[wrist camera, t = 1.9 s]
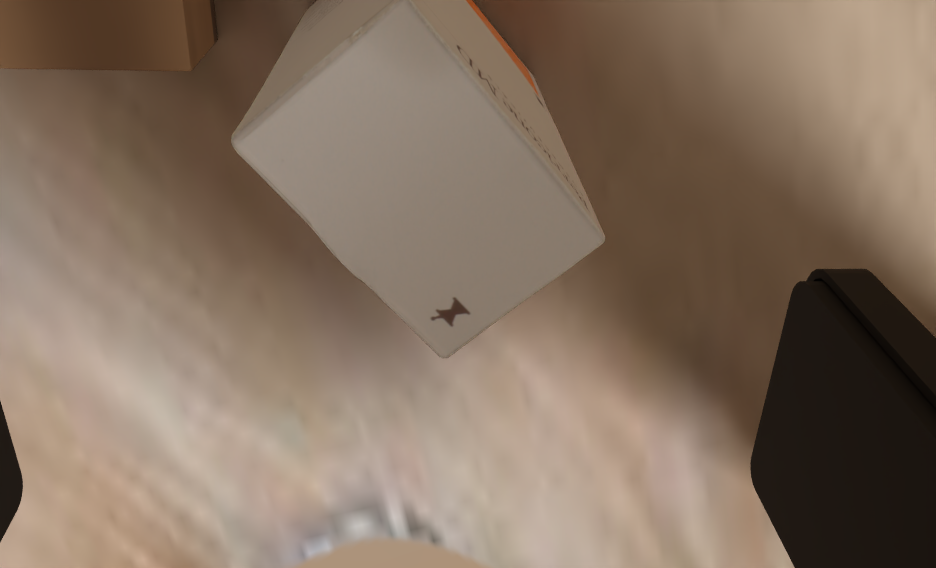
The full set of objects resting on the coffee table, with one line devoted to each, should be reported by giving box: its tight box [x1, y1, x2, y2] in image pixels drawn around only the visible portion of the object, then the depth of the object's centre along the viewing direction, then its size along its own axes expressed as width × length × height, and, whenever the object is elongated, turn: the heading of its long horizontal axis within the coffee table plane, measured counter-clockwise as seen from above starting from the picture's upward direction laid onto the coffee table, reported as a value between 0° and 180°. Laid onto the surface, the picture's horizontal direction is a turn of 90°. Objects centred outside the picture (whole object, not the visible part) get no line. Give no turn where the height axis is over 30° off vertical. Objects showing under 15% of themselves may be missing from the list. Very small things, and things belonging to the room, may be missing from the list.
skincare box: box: [231, 0, 605, 358], centre depth 21 cm, size 6×4×12 cm
